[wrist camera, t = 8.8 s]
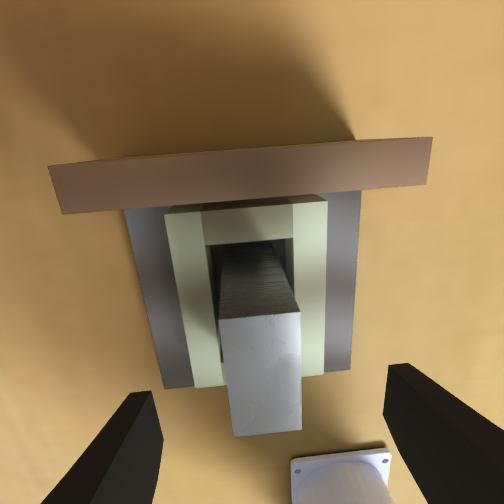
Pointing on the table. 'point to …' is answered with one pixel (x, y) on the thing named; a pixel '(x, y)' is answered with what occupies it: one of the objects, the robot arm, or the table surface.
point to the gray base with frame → (243, 235)
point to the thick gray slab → (260, 341)
